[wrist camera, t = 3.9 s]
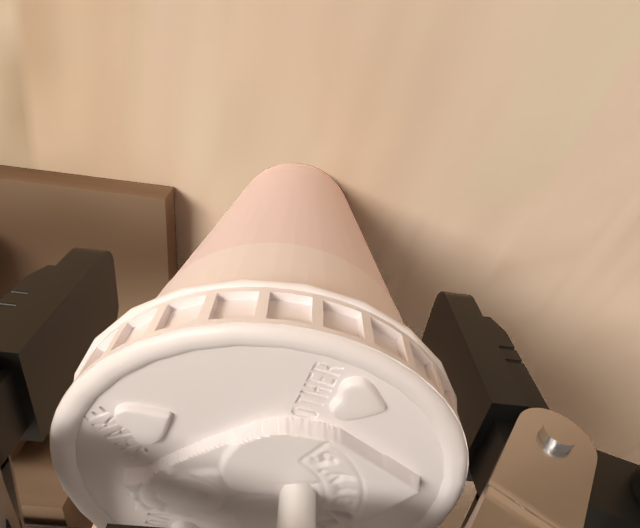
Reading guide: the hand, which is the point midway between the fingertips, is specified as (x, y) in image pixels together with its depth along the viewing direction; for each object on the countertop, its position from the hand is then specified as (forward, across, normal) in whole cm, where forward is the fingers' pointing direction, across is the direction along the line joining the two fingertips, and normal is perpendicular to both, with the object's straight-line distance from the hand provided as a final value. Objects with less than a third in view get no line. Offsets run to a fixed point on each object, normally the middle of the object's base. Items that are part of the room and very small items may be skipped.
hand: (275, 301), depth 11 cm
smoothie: (+5, 0, 0) cm, 5 cm away
